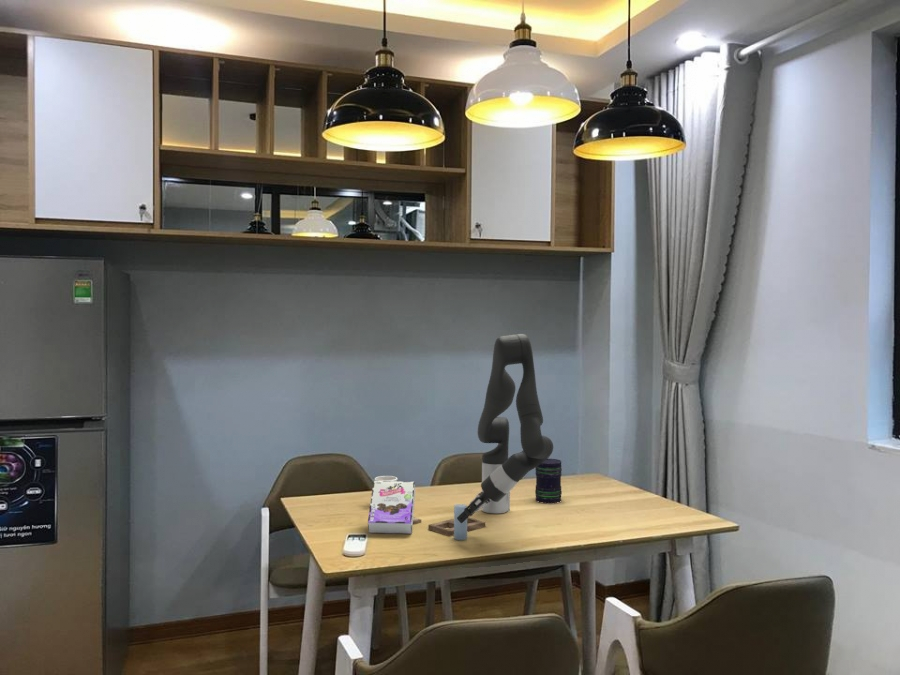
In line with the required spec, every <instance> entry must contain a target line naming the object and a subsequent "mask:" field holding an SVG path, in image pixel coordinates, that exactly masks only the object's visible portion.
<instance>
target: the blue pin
mask: <svg viewBox="0 0 900 675" xmlns="http://www.w3.org/2000/svg"><path fill="white" fill-rule="evenodd" d="M453 507H454V508H453V519H454V535H453V539H454V540H456V541H466V540H467V539H468V531H467V524H468V523H467V519H466V520H465V521H464V522H463V523H460V522H459V521H458V519H457V517H458V516H459V515H460V514H461V513H462V512H463V511H464V509H465V508H466V507H468V505H466V504H454V506H453Z"/></svg>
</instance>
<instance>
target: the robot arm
mask: <svg viewBox="0 0 900 675" xmlns="http://www.w3.org/2000/svg"><path fill="white" fill-rule="evenodd" d="M530 340H531V339H529V337H528V335H527V334H525V333H517V334H507V335H501V336H498V337H497V338H496V339H495V341H494V345H493V354H492V364H491V372H490V375H489V376H490V377H489V380H488V385H487V388H486V394H485V400H484V404H483V409H482V413H481V415H480V418H479V421H478V425H477V437H478V439H479V441H480V442H481V443H482V444H497V446H495V447H494V448H493V449H491V450H489V451H486V452H484V453H483V454H482V456H481V484H480V488H481V491H480V493H477V495H475V497H474V498H473V499H472V500H471V501H470V502H469V504H468V505H467V507H466V508H465V509H464V511H463V512H462V513H461V514H460V515H459V516H458V517H457V519H458V521H459V522H460V523H463V522H464V521H465V520H466V519H467V518H468V517H472V516H473V515H474V514H475V513H478V512H479V511H480V510H481V511H482V512H484V513H487V514H504V513H507V512H508V511H510V509H511V508H510V507H511V503H510V502H511V497H510V496H511V490H513V489H514V488H515V487H516V485H517V484H518V483H519V482H520V481H521V480H522V479H523V478H524V477H525V476H527V475H528V473H529V472H530V471H532V470H534V469H535V467H537V466H538V465H540V464H541V463H543V462H544V461H545V460H547V459H550V458H549V457H550V456H551V455H552V454H553V451H554V443H553V441H552V440H551V439H550V437H548V436H545V435H543V434H542V429H541V426H542V425H543V423H544V418H543V417H544V416H543V413H542V409H541V404H540V400H539V394H538V389H537V381H536V373H535V372H536V371H535V364H534V355H533V354H534V353H533V348H532V343H531V341H530ZM517 364H519V365H520V364H521V365H522V379H521V382H520V385H519V388H518V390H517V394H516V393H515V392H516V383H515V382H514V379H513V377H512V376H511V375H510V374H509V373H508V372H507V370H506V367H507V366H510V365H517ZM515 394H516V398H515V407H516V411H517V416H518V419H519V423H520V431H519V432H520V444H521V448H522V451H520V452H516V453H513V454H512V455H510V456H509V445H510V444H509V441H510V422H509V420H508V418H507V417H506V416H500V415H501V414H504V412H506V410H508V409H509V407H511V405H512V403H513V401H514V397H515Z"/></svg>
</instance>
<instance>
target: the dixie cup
mask: <svg viewBox="0 0 900 675" xmlns="http://www.w3.org/2000/svg"><path fill="white" fill-rule="evenodd" d="M374 481H397V482H398V477H396V476H393V475H379V476H376V477H375V478H374Z"/></svg>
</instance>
